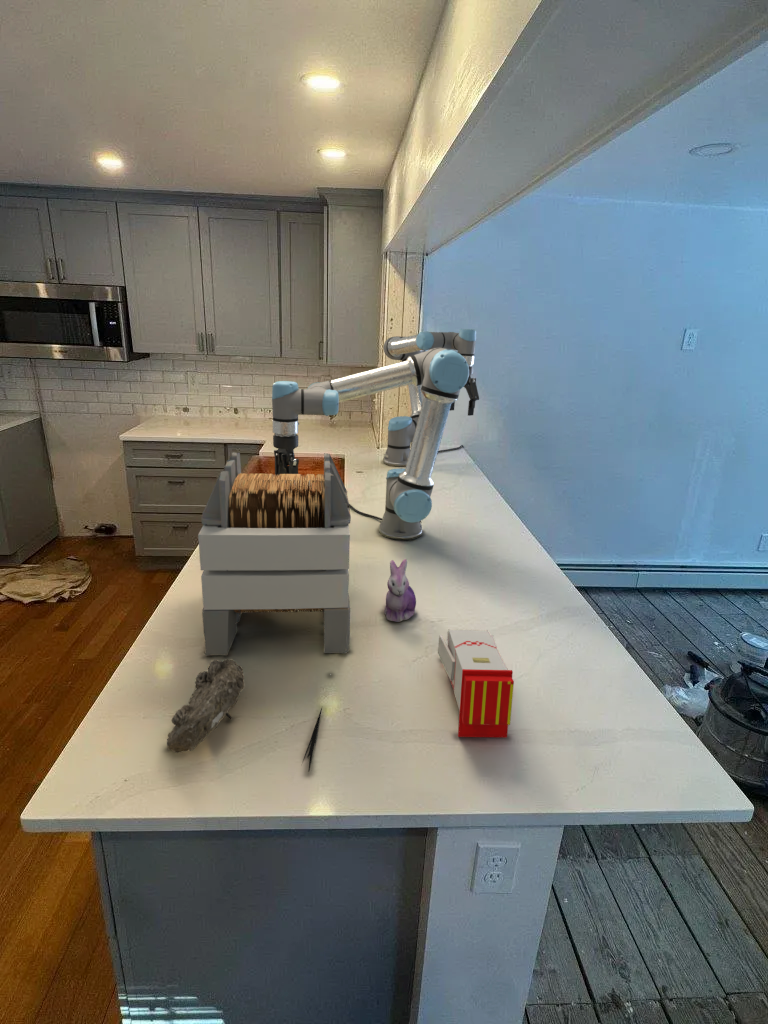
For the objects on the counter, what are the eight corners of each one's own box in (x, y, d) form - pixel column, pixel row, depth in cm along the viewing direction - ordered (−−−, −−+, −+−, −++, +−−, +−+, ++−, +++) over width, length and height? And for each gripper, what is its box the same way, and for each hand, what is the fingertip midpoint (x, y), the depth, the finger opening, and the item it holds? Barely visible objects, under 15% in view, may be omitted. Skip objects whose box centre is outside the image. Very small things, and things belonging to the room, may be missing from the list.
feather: (331, 679, 122) (336, 673, 122) (307, 777, 96) (313, 769, 95) (324, 675, 122) (329, 669, 121) (298, 772, 95) (304, 764, 95)
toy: (488, 613, 130) (523, 677, 101) (484, 667, 133) (517, 744, 104) (435, 612, 130) (455, 676, 101) (432, 666, 133) (451, 743, 103)
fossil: (192, 660, 117) (244, 628, 112) (224, 691, 120) (276, 661, 115) (142, 746, 98) (202, 712, 93) (182, 779, 101) (242, 748, 96)
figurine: (392, 627, 141) (395, 572, 136) (374, 608, 149) (376, 556, 144) (425, 619, 145) (429, 566, 140) (405, 601, 154) (408, 550, 149)
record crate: (226, 586, 157) (217, 442, 143) (344, 585, 161) (346, 445, 147) (202, 658, 125) (189, 482, 112) (350, 654, 129) (354, 483, 115)
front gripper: (310, 439, 165) (310, 514, 173) (285, 427, 179) (286, 497, 187) (286, 441, 161) (287, 518, 169) (262, 429, 175) (264, 500, 183)
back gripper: (490, 368, 245) (485, 417, 252) (453, 362, 265) (449, 407, 272) (477, 368, 241) (472, 418, 249) (441, 362, 261) (437, 408, 268)
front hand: (286, 506), depth 178 cm, fingers closed on block, 5 cm apart
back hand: (460, 412), depth 260 cm, fingers open, 13 cm apart
